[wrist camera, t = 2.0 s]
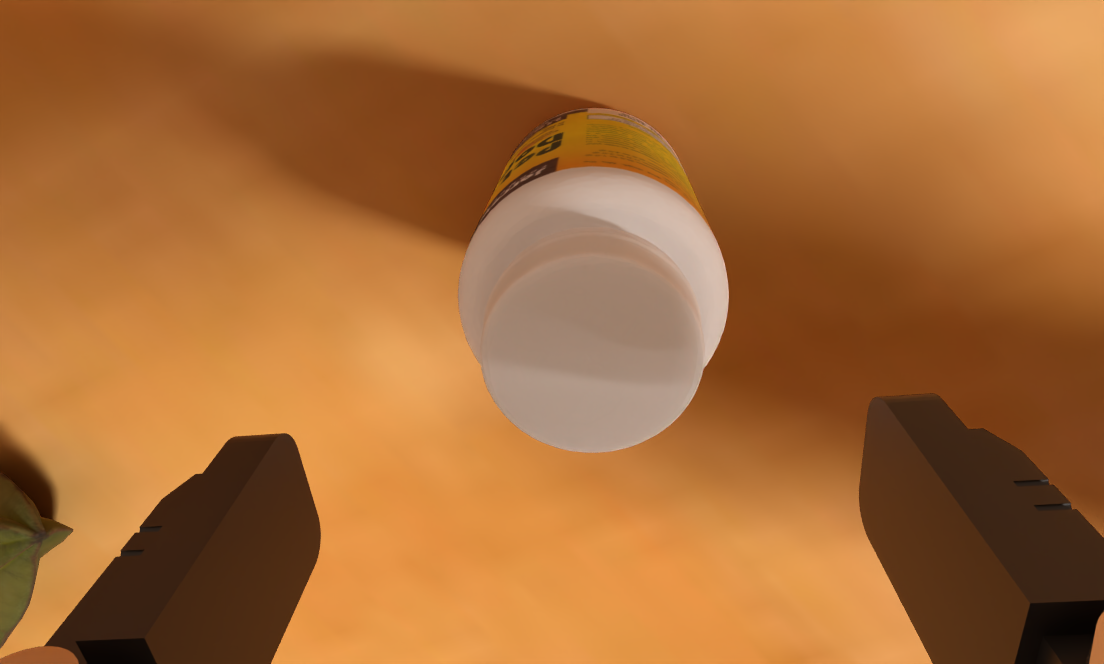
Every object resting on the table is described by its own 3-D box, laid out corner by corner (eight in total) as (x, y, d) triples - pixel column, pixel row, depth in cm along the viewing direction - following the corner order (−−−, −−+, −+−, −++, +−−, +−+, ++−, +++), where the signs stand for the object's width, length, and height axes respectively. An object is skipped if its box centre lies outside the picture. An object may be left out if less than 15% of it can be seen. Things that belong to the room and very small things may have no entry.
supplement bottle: (558, 65, 20) (532, 138, 11) (723, 167, 21) (825, 313, 12) (467, 230, 22) (381, 406, 13) (620, 315, 23) (639, 534, 14)
